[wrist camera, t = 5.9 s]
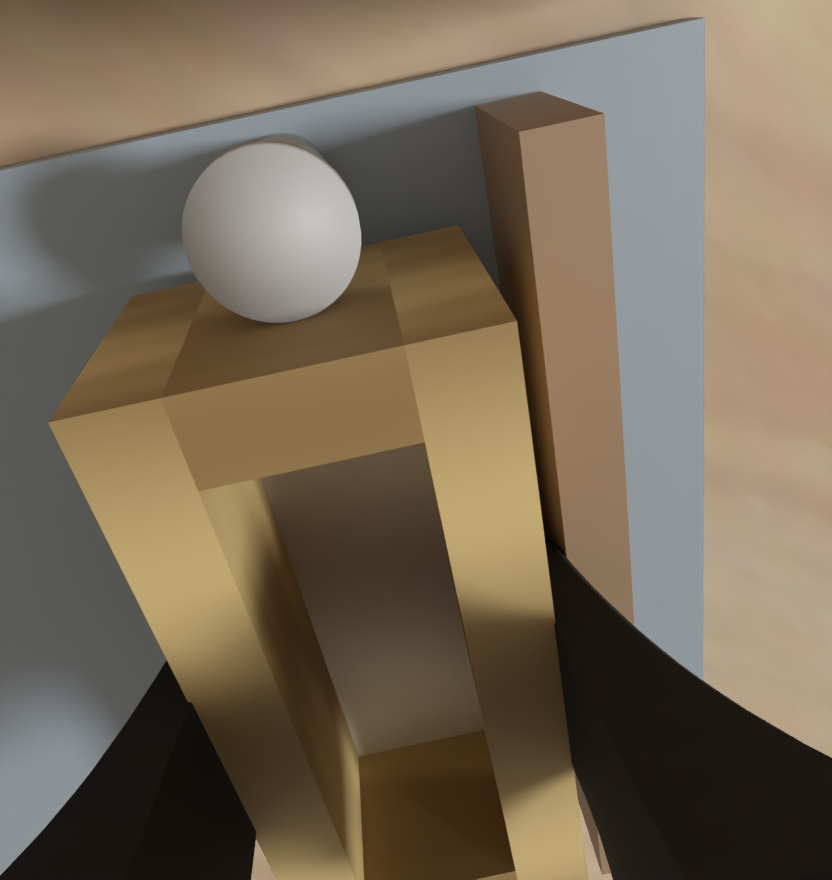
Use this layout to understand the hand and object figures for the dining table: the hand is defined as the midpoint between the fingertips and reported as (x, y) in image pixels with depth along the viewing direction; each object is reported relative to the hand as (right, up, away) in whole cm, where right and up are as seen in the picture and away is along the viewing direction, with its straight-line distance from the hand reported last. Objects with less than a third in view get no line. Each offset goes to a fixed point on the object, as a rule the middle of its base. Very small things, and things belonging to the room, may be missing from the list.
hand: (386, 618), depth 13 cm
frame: (0, +1, +1) cm, 2 cm away
